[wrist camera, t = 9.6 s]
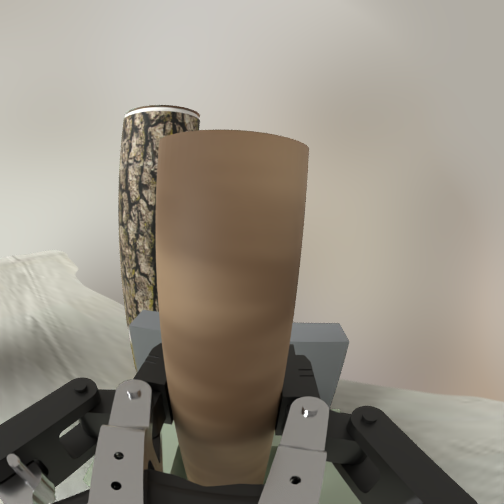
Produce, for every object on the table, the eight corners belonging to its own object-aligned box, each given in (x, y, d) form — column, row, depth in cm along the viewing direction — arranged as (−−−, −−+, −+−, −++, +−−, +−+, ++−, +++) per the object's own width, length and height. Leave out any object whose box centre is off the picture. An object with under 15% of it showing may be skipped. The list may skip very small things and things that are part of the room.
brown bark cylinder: (208, 375, 26) (214, 112, 20) (148, 394, 22) (135, 101, 16) (180, 345, 31) (181, 126, 25) (128, 358, 27) (117, 121, 21)
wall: (150, 424, 18) (128, 325, 16) (158, 405, 20) (142, 309, 18) (318, 437, 18) (349, 341, 16) (314, 417, 20) (339, 323, 18)
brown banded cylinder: (188, 515, 9) (133, 133, 5) (198, 467, 13) (182, 153, 9) (258, 522, 9) (324, 137, 5) (259, 473, 13) (297, 158, 9)
